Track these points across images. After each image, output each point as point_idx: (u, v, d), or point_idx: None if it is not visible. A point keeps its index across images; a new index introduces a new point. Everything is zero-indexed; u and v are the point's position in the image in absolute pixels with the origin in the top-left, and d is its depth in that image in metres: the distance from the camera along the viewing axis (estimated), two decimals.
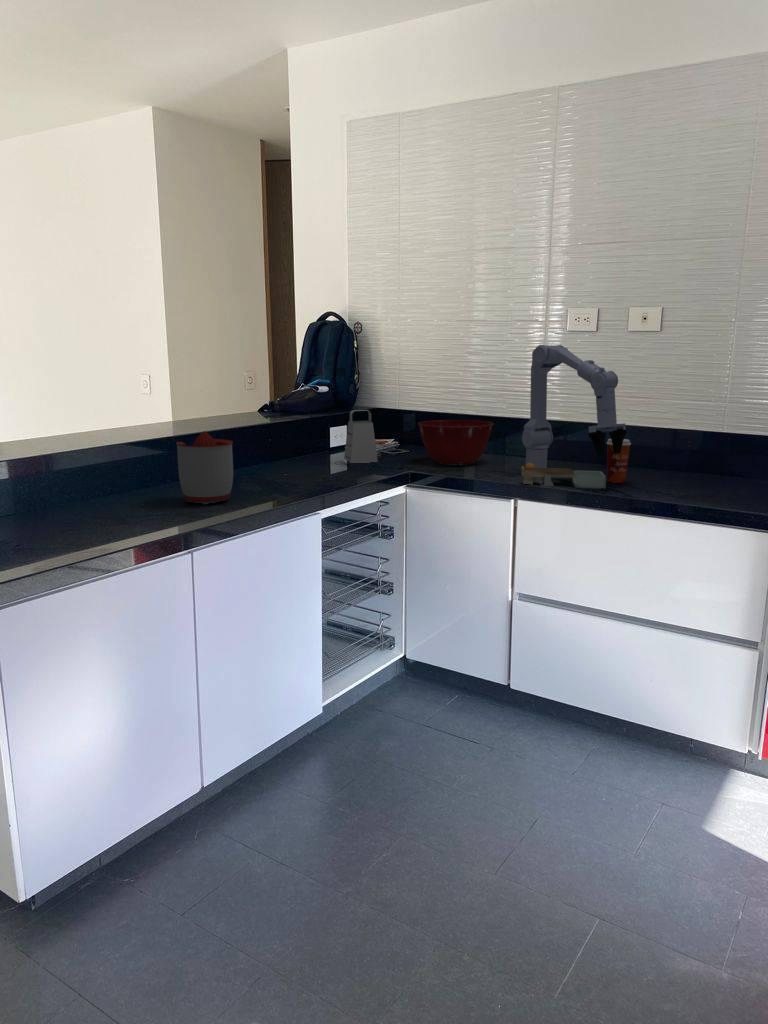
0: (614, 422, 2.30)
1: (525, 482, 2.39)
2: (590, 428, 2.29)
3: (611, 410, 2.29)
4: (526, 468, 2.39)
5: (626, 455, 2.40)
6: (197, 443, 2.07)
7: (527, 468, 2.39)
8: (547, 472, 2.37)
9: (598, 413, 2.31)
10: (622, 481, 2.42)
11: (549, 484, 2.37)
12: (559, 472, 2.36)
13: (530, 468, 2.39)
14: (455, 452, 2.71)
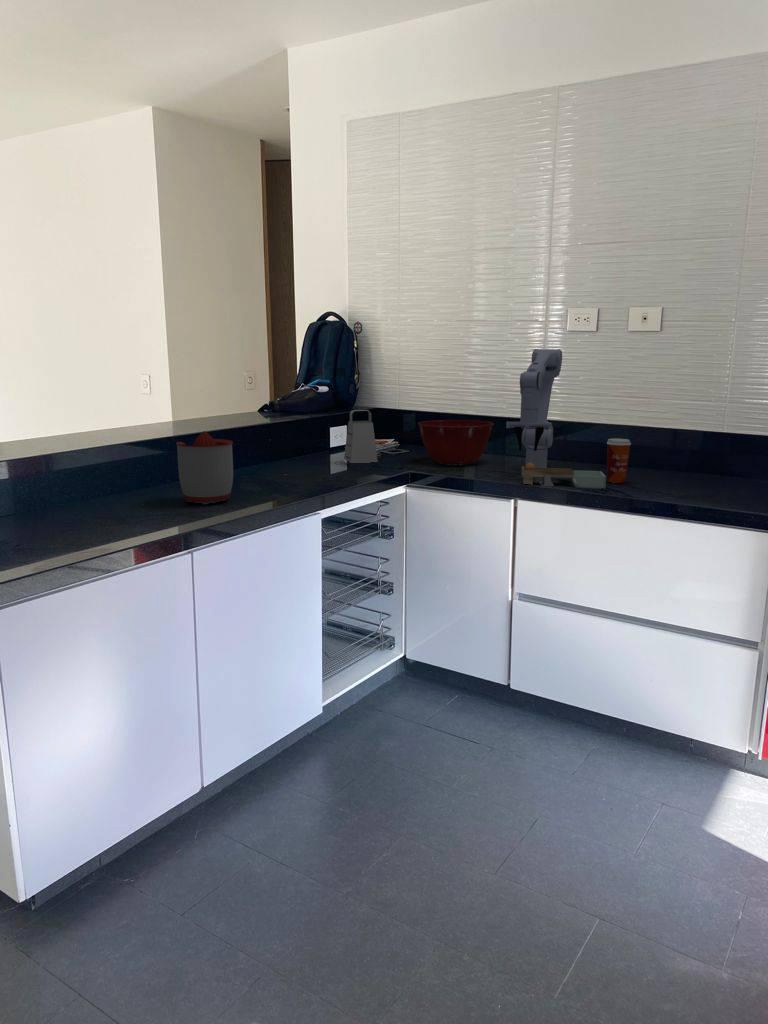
0: (529, 421, 2.41)
1: (525, 482, 2.39)
2: (506, 424, 2.45)
3: (527, 410, 2.40)
4: (526, 468, 2.39)
5: (626, 455, 2.40)
6: (197, 443, 2.07)
7: (527, 468, 2.39)
8: (547, 472, 2.37)
9: None
10: (622, 481, 2.42)
11: (549, 484, 2.37)
12: (559, 472, 2.36)
13: (530, 468, 2.39)
14: (455, 452, 2.71)
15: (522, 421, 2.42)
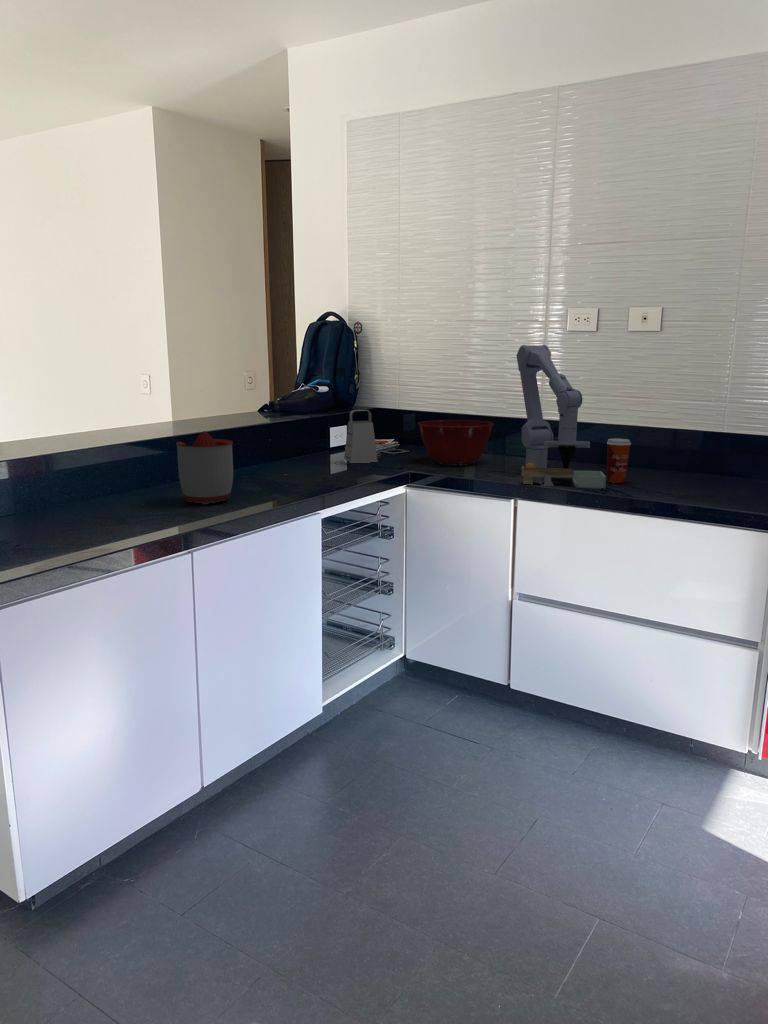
0: (568, 440, 2.41)
1: (525, 482, 2.39)
2: (544, 443, 2.45)
3: (566, 429, 2.40)
4: (526, 468, 2.39)
5: (626, 455, 2.40)
6: (197, 443, 2.07)
7: (527, 468, 2.39)
8: (547, 472, 2.37)
9: None
10: (622, 481, 2.42)
11: (549, 484, 2.37)
12: (559, 472, 2.36)
13: (530, 468, 2.39)
14: (455, 452, 2.71)
15: (560, 440, 2.42)
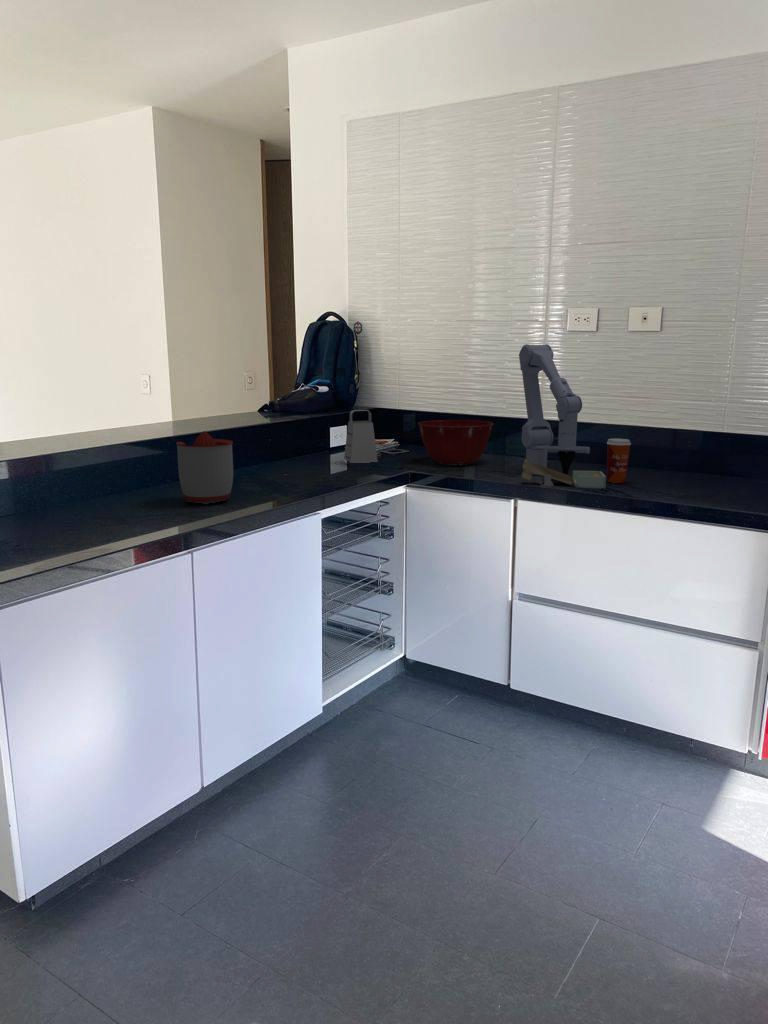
0: (568, 446, 2.41)
1: (524, 475, 2.38)
2: None
3: (565, 434, 2.41)
4: None
5: (626, 455, 2.40)
6: (197, 443, 2.07)
7: None
8: (548, 472, 2.37)
9: None
10: (622, 481, 2.42)
11: (549, 484, 2.37)
12: (559, 476, 2.37)
13: None
14: (455, 452, 2.71)
15: (560, 446, 2.42)
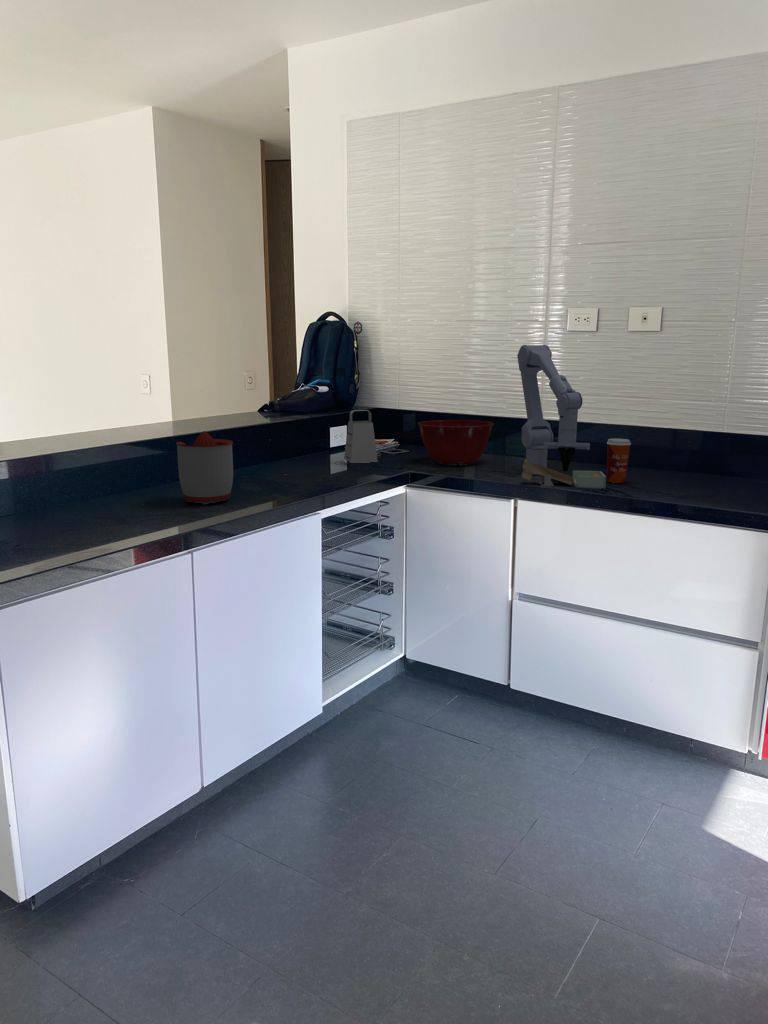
0: (568, 442, 2.41)
1: (524, 475, 2.38)
2: None
3: (566, 431, 2.40)
4: None
5: (626, 455, 2.40)
6: (197, 443, 2.07)
7: None
8: (548, 472, 2.37)
9: None
10: (622, 481, 2.42)
11: (549, 484, 2.37)
12: (559, 476, 2.37)
13: None
14: (455, 452, 2.71)
15: (560, 442, 2.42)
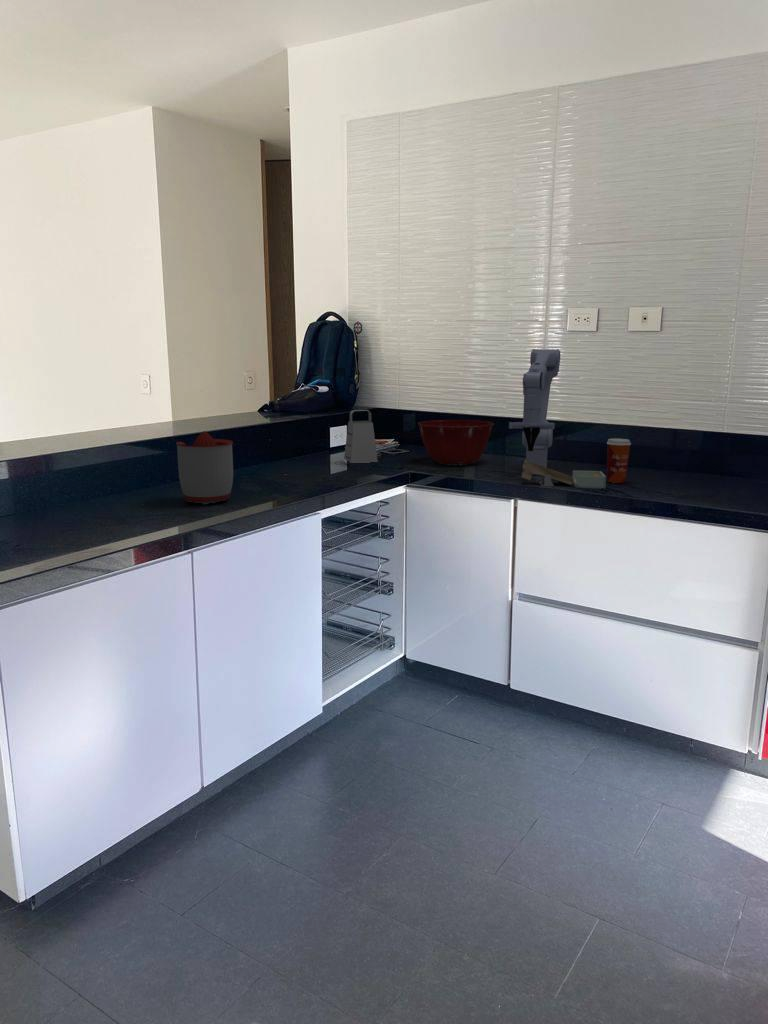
0: (532, 422, 2.41)
1: (524, 475, 2.38)
2: (509, 424, 2.45)
3: (530, 410, 2.40)
4: None
5: (626, 455, 2.40)
6: (197, 443, 2.07)
7: None
8: (548, 472, 2.37)
9: None
10: (622, 481, 2.42)
11: (549, 484, 2.37)
12: (559, 476, 2.37)
13: None
14: (455, 452, 2.71)
15: (525, 421, 2.42)
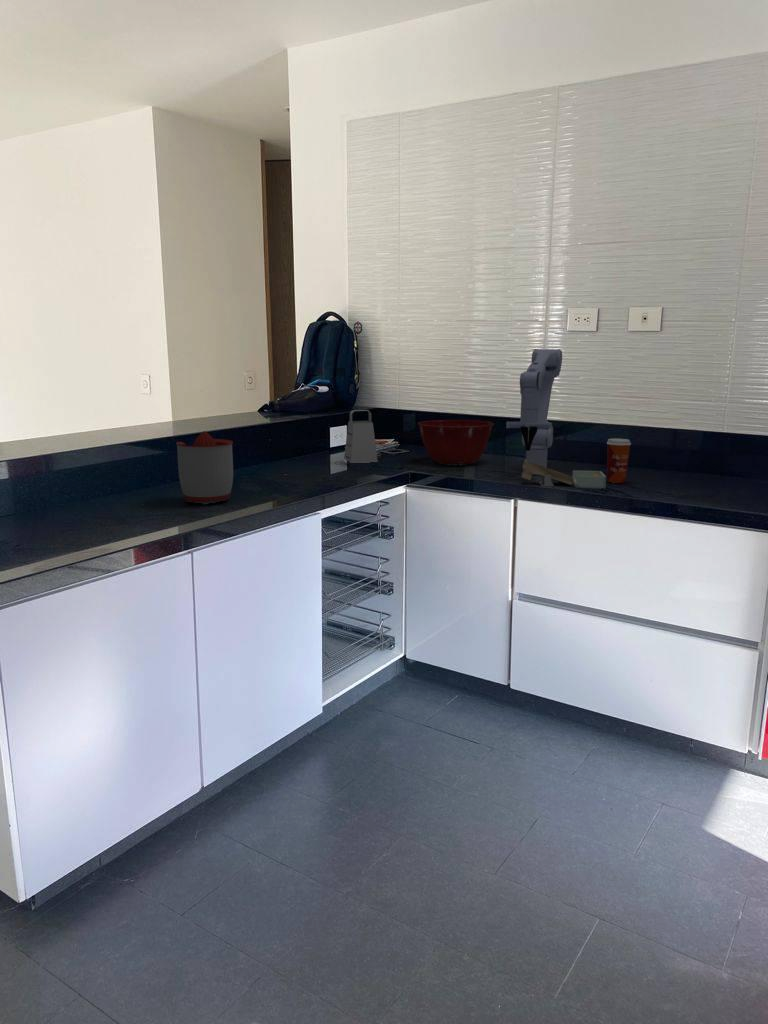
0: (529, 421, 2.41)
1: (524, 475, 2.38)
2: (506, 424, 2.45)
3: (527, 410, 2.40)
4: None
5: (626, 455, 2.40)
6: (197, 443, 2.07)
7: None
8: (548, 472, 2.37)
9: None
10: (622, 481, 2.42)
11: (549, 484, 2.37)
12: (559, 476, 2.37)
13: None
14: (455, 452, 2.71)
15: (522, 421, 2.42)
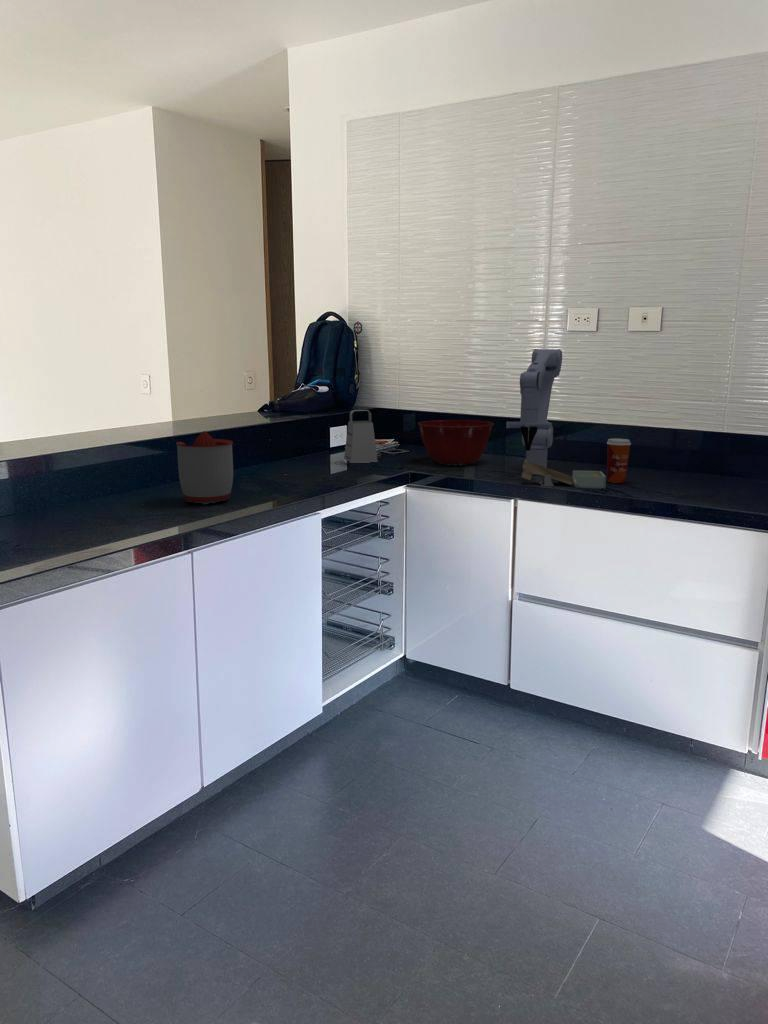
0: (529, 421, 2.41)
1: (524, 475, 2.38)
2: (506, 424, 2.45)
3: (527, 410, 2.40)
4: None
5: (626, 455, 2.40)
6: (197, 443, 2.07)
7: None
8: (548, 472, 2.37)
9: None
10: (622, 481, 2.42)
11: (549, 484, 2.37)
12: (559, 476, 2.37)
13: None
14: (455, 452, 2.71)
15: (522, 421, 2.42)
